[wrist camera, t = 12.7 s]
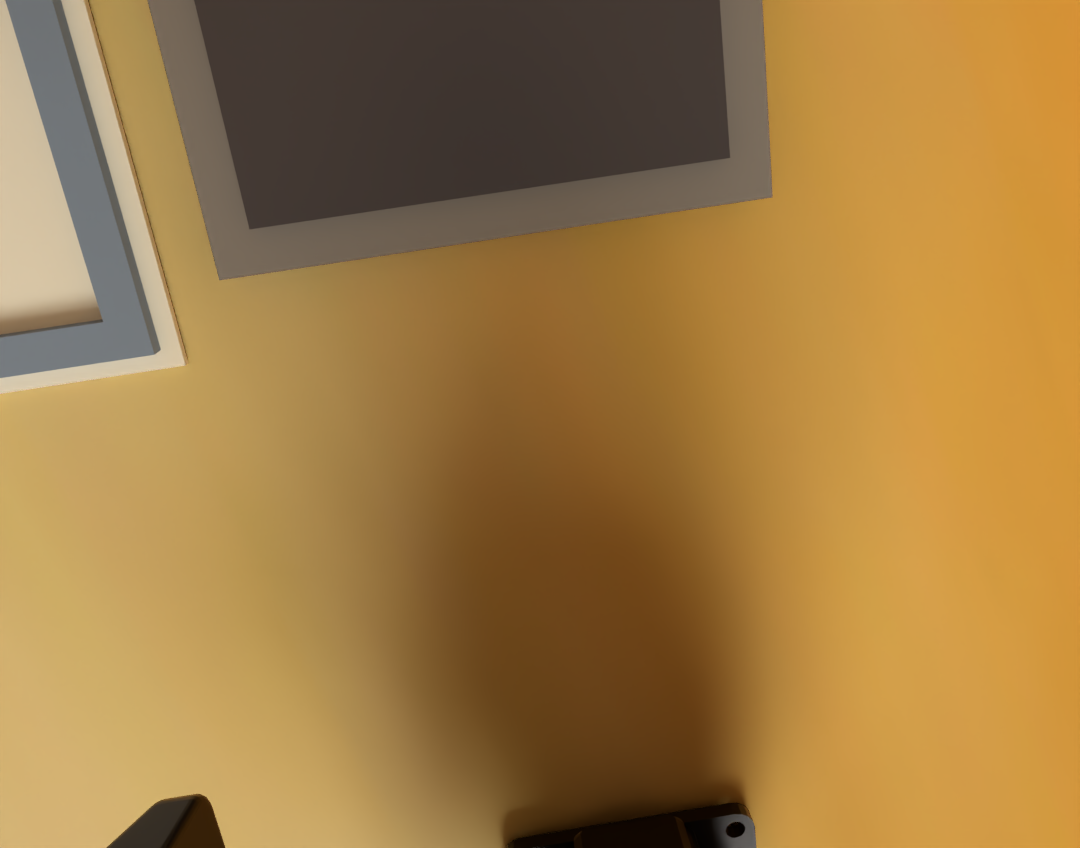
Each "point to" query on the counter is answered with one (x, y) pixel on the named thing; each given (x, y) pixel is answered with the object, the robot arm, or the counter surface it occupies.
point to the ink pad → (457, 119)
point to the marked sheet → (71, 213)
